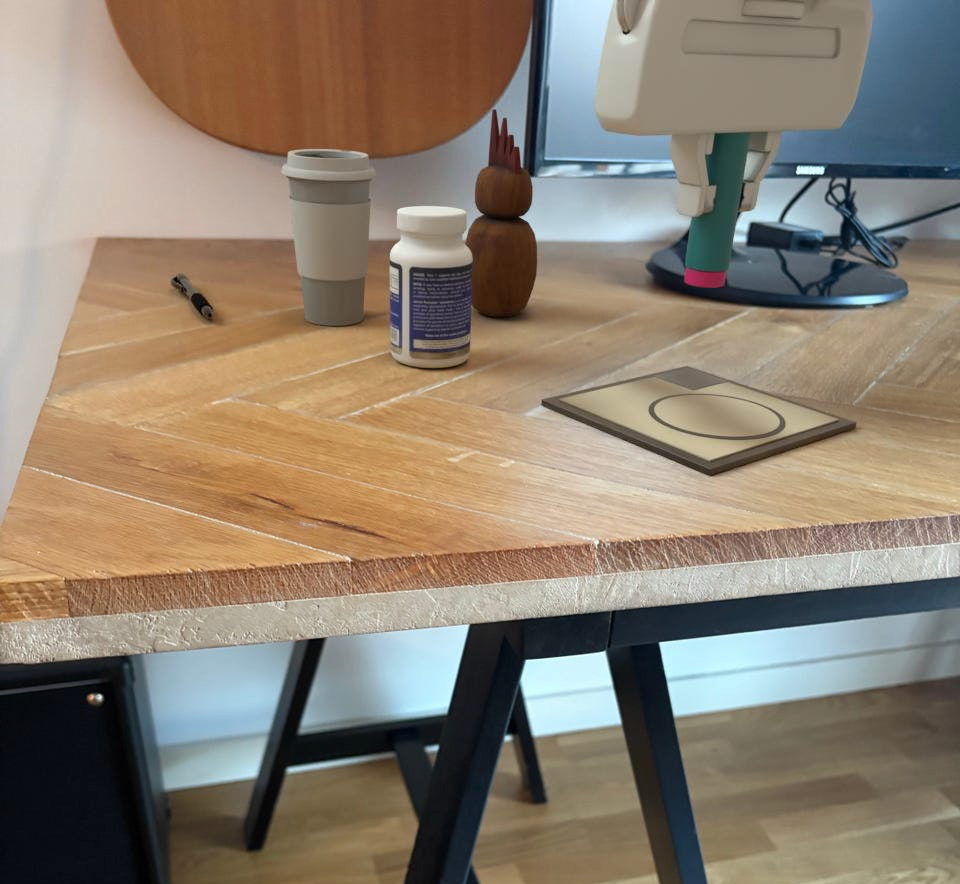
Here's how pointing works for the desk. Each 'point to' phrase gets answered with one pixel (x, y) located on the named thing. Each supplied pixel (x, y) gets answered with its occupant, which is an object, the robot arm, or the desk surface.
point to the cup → (330, 231)
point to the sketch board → (699, 418)
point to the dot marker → (718, 213)
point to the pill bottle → (430, 288)
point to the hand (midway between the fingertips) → (715, 212)
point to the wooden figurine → (502, 230)
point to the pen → (192, 295)
